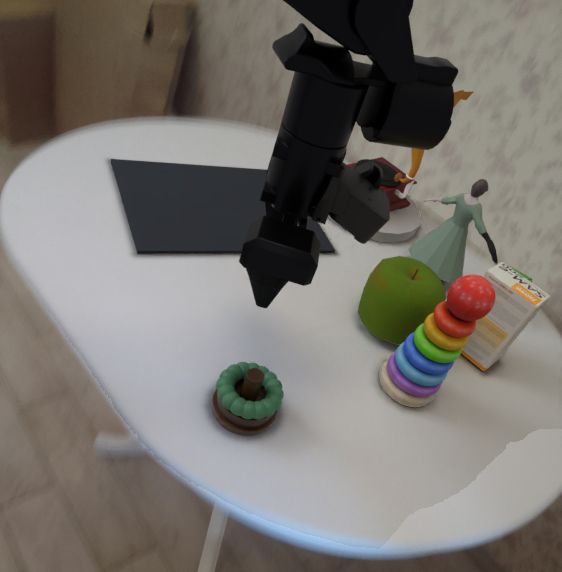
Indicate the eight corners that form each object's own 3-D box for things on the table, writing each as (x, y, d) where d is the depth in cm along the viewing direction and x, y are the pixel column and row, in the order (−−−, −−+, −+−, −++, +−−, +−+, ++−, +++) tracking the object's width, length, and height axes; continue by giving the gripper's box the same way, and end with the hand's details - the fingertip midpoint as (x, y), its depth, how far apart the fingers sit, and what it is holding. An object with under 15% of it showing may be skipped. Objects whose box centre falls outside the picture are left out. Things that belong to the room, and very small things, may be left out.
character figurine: (479, 300, 87) (547, 208, 74) (454, 315, 82) (522, 219, 69) (411, 245, 93) (462, 151, 80) (383, 256, 88) (433, 157, 75)
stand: (221, 440, 55) (232, 408, 51) (203, 386, 60) (212, 351, 55) (285, 430, 59) (300, 398, 54) (263, 379, 63) (276, 346, 58)
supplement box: (497, 360, 78) (553, 296, 68) (482, 373, 75) (539, 307, 65) (455, 326, 80) (503, 259, 71) (439, 337, 78) (487, 269, 68)
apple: (430, 355, 74) (470, 299, 66) (364, 352, 71) (397, 293, 63) (404, 302, 81) (438, 246, 73) (342, 297, 78) (370, 238, 70)
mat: (137, 253, 72) (137, 251, 71) (110, 161, 85) (110, 158, 84) (334, 253, 85) (335, 250, 84) (285, 173, 98) (285, 170, 98)
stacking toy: (365, 381, 67) (434, 269, 54) (395, 354, 72) (465, 246, 59) (414, 420, 65) (498, 313, 51) (441, 390, 70) (524, 285, 56)
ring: (225, 428, 54) (229, 417, 52) (207, 372, 58) (209, 361, 56) (290, 418, 57) (295, 407, 55) (268, 366, 61) (272, 355, 60)
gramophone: (436, 228, 100) (512, 96, 81) (371, 253, 88) (444, 105, 69) (362, 172, 107) (416, 39, 89) (293, 188, 95) (340, 38, 77)
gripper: (412, 220, 36) (336, 363, 48) (402, 119, 49) (345, 251, 60) (261, 170, 35) (221, 329, 47) (291, 80, 48) (254, 222, 59)
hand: (268, 278), depth 53 cm, fingers open, 9 cm apart
